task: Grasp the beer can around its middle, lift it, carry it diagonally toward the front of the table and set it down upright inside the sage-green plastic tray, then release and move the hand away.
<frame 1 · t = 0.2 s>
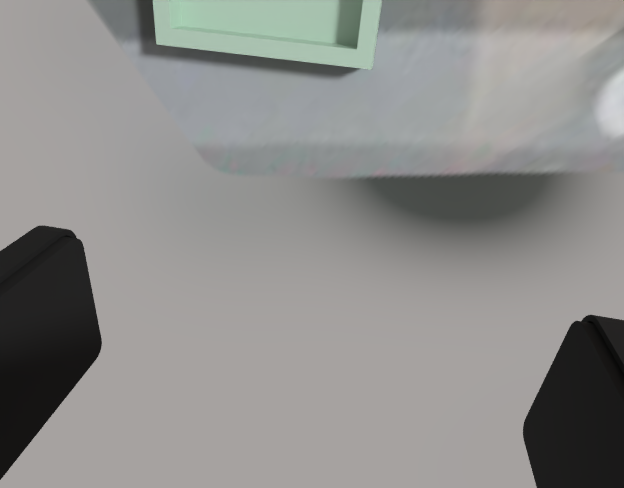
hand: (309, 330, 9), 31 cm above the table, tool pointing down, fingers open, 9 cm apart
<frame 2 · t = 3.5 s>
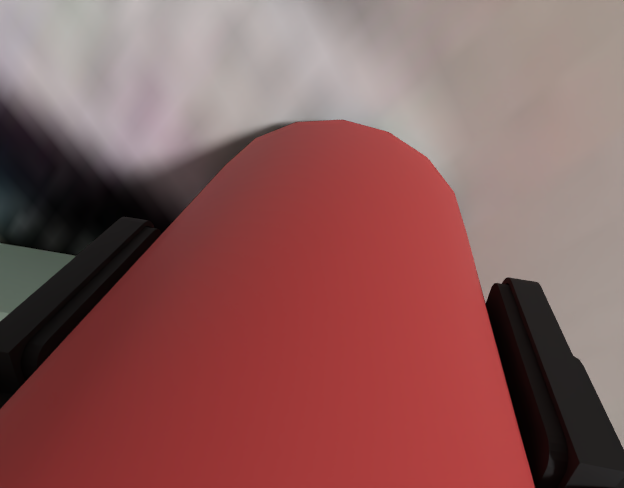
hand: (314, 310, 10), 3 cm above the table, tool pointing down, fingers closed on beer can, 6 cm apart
beer can: (333, 233, 12), on the table, touching gripper
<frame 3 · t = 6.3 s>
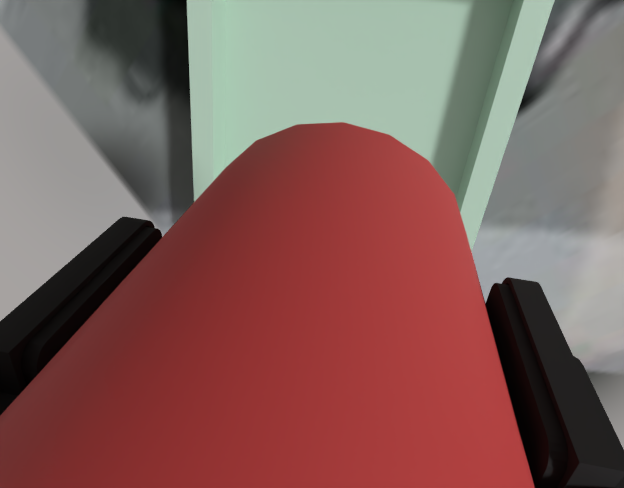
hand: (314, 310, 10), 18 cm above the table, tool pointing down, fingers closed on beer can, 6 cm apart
tray: (348, 109, 26), on the table
beer can: (334, 235, 12), point 15 cm above the table, touching gripper
when the fingers open (6 cm above the table, at t = 9.2 s): beer can drops 2 cm, resting on tray.
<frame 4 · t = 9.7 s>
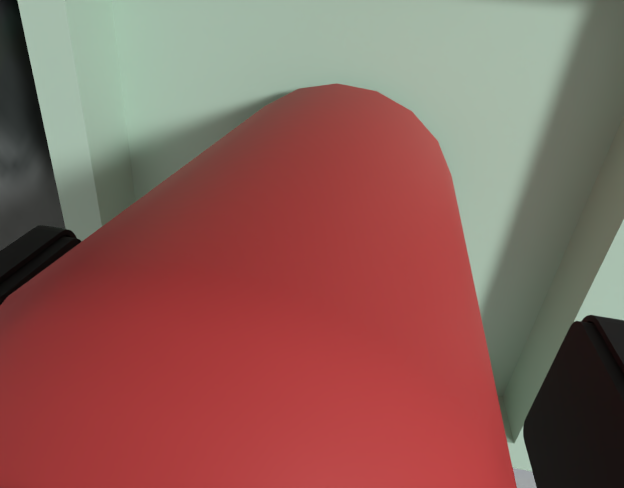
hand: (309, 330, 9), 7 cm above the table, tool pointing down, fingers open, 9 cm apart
tray: (344, 192, 15), on the table
beer can: (338, 191, 14), point 1 cm above the table, touching tray
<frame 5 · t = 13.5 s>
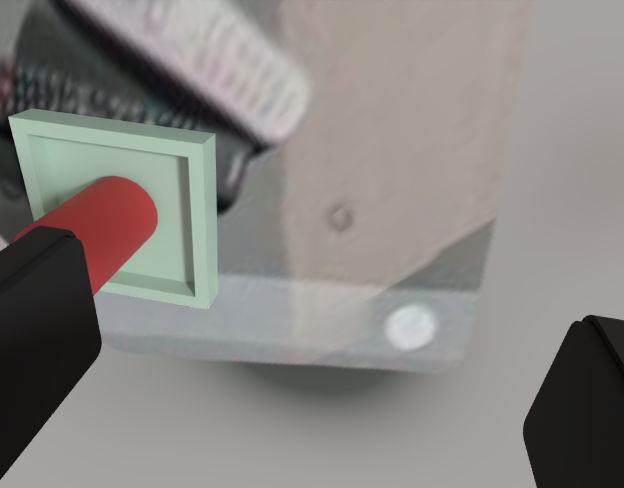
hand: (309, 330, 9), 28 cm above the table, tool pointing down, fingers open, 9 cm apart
tray: (132, 207, 42), on the table
beer can: (127, 207, 42), point 1 cm above the table, touching tray
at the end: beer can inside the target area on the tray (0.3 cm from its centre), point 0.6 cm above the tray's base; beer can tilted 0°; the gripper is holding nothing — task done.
